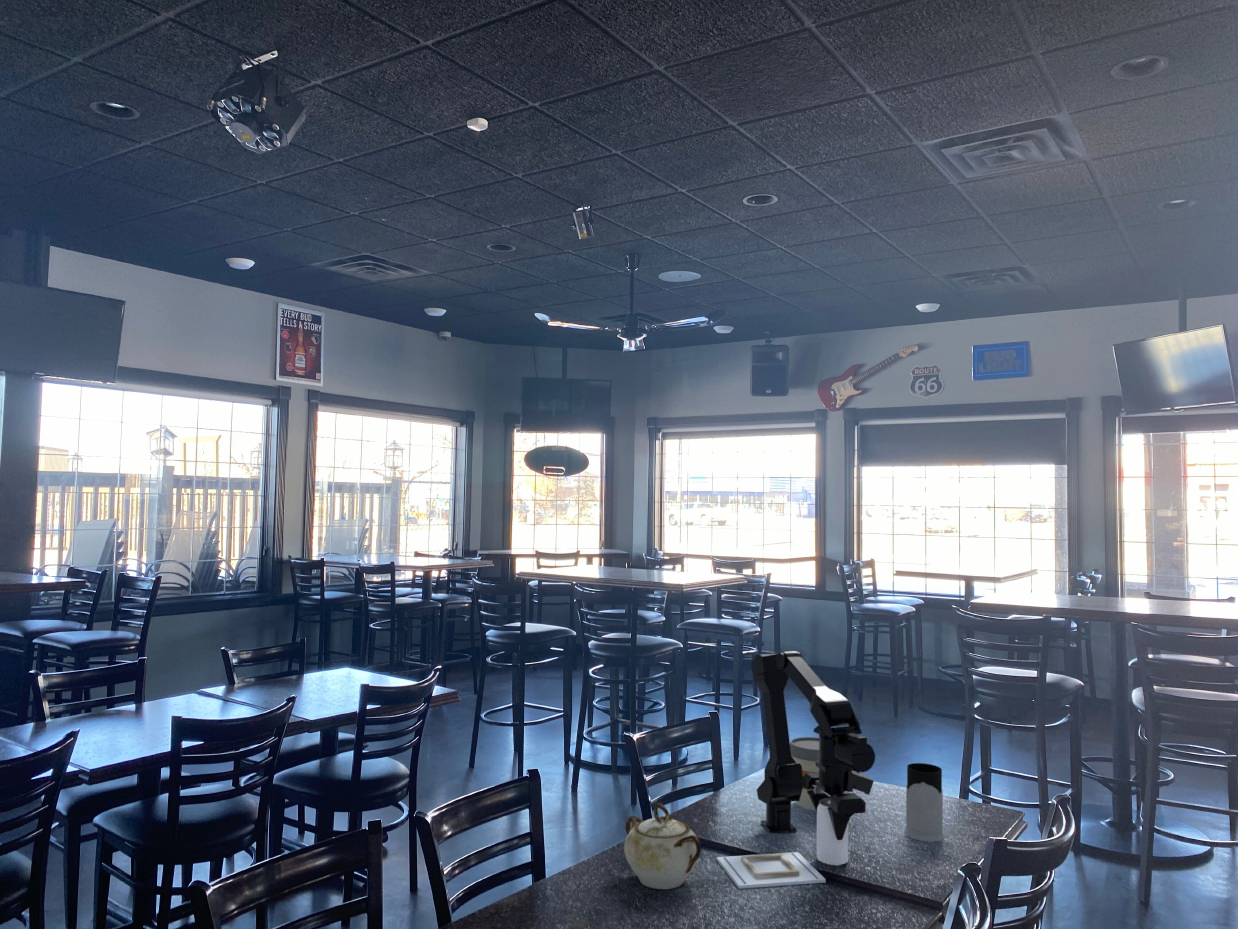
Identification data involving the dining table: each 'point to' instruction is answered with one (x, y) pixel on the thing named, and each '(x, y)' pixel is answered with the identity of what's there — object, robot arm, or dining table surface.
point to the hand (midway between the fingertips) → (832, 833)
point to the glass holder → (924, 802)
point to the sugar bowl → (661, 850)
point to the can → (829, 838)
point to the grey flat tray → (748, 880)
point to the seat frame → (781, 857)
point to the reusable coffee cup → (806, 763)
